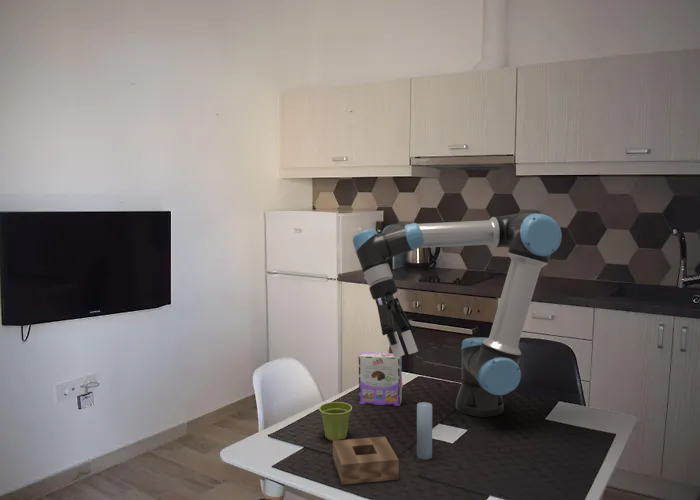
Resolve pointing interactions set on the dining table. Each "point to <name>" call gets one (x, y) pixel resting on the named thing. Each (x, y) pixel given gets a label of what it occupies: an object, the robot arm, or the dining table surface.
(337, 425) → the plant pot
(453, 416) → the dining table surface
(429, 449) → the dowel
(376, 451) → the bore block
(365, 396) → the candy box
